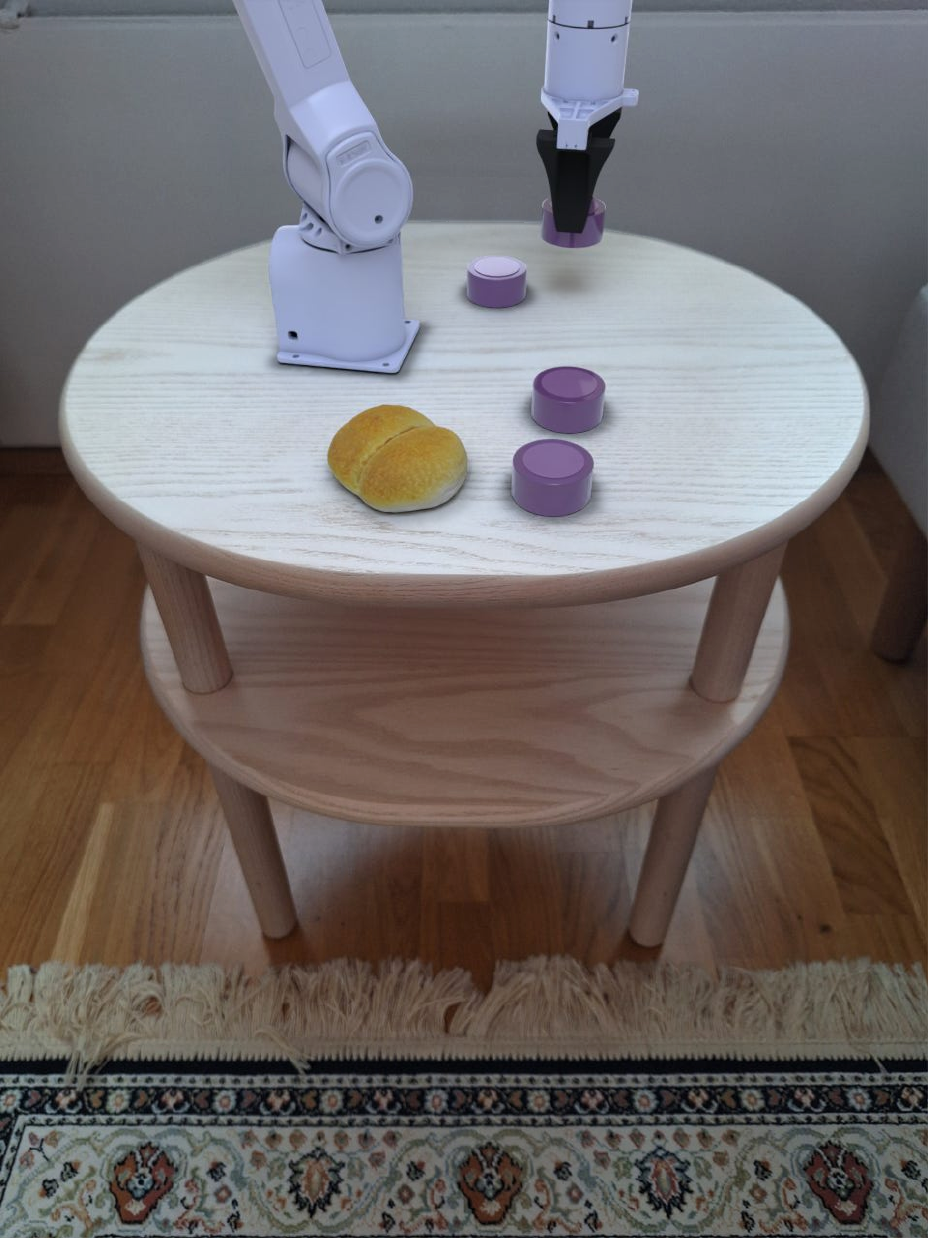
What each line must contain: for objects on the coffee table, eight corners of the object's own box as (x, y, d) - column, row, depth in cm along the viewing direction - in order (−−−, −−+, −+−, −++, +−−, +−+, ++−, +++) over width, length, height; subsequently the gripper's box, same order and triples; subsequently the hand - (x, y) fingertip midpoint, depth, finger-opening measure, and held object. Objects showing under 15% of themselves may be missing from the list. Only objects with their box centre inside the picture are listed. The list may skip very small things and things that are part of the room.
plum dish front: (505, 511, 59) (506, 478, 57) (517, 466, 62) (518, 433, 60) (586, 520, 58) (590, 487, 56) (593, 474, 61) (597, 441, 60)
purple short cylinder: (461, 305, 79) (461, 276, 78) (472, 280, 83) (472, 252, 81) (521, 310, 79) (522, 281, 77) (529, 284, 82) (530, 256, 80)
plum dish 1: (536, 245, 75) (538, 213, 73) (544, 221, 79) (546, 190, 77) (600, 250, 74) (603, 218, 73) (605, 226, 78) (608, 195, 76)
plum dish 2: (526, 429, 65) (528, 397, 64) (536, 392, 69) (537, 361, 67) (599, 436, 65) (602, 404, 63) (605, 399, 68) (608, 368, 67)
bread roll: (399, 535, 57) (395, 480, 54) (310, 472, 62) (303, 419, 59) (497, 480, 61) (499, 426, 58) (407, 425, 66) (404, 373, 63)
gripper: (641, 47, 60) (617, 258, 70) (651, 0, 71) (628, 189, 80) (531, 42, 61) (522, 250, 71) (557, -4, 72) (545, 183, 81)
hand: (572, 217), depth 75 cm, fingers closed on plum dish 1, 5 cm apart
